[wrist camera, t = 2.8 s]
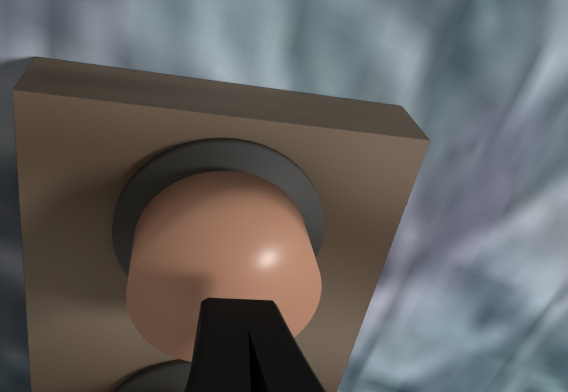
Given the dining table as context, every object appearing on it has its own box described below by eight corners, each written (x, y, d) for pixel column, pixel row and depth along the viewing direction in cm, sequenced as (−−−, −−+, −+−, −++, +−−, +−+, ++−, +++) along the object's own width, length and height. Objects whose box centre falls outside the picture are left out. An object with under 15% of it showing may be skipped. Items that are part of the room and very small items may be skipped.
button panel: (266, 515, 25) (273, 572, 23) (54, 525, 22) (41, 589, 21) (401, 106, 14) (435, 146, 12) (36, 56, 12) (8, 96, 10)
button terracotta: (287, 310, 14) (299, 365, 13) (129, 304, 13) (121, 363, 12) (322, 179, 12) (342, 227, 11) (138, 162, 11) (131, 210, 10)
